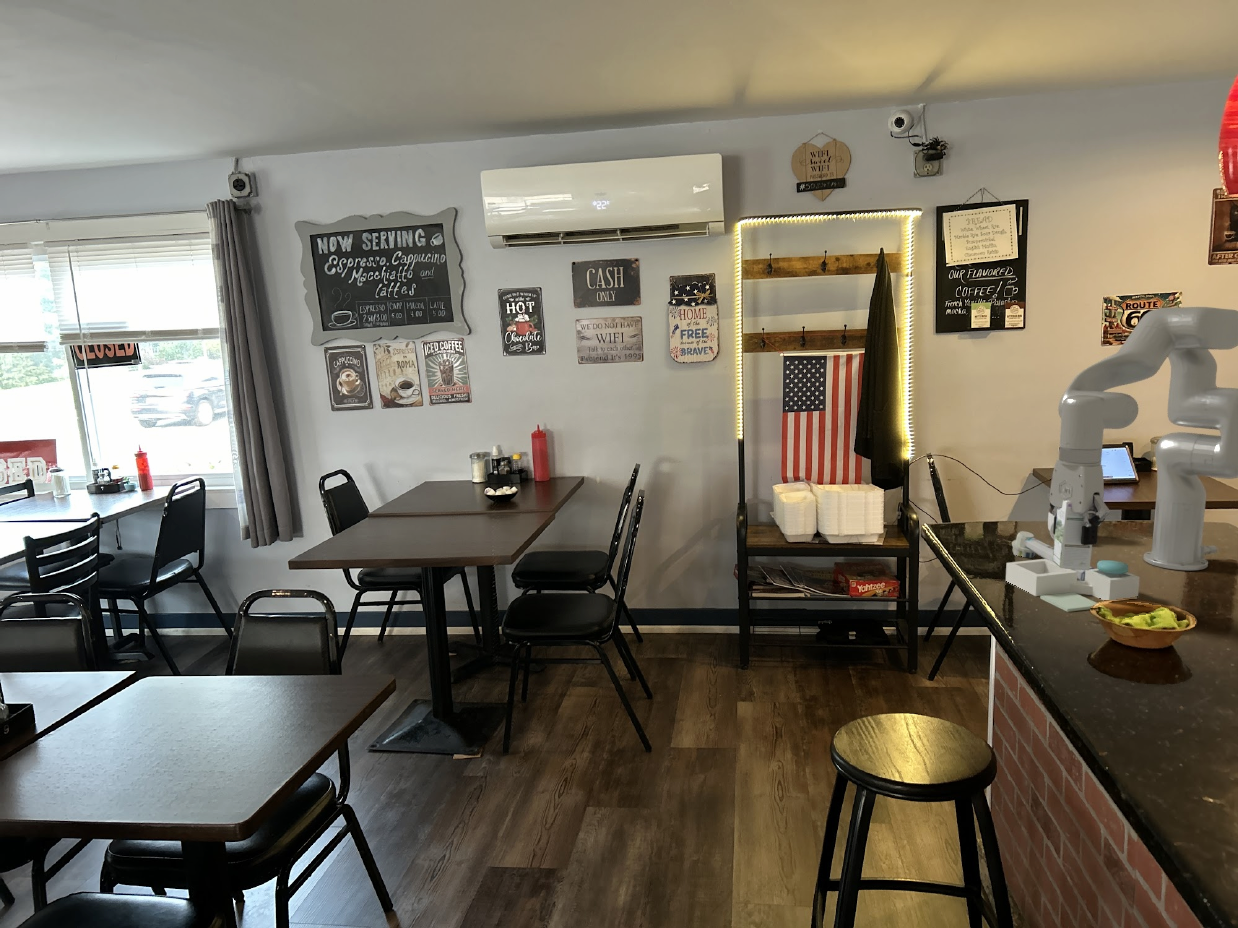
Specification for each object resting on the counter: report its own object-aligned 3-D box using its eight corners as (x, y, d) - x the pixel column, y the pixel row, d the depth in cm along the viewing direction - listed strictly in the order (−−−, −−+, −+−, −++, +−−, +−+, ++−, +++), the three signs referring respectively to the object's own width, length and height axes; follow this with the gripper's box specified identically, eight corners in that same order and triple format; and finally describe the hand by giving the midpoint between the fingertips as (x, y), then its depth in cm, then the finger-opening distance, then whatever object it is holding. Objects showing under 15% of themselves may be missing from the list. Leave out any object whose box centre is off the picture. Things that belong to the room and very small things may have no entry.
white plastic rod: (1081, 569, 174) (1009, 526, 197) (1076, 595, 176) (1006, 550, 199) (1102, 566, 175) (1028, 524, 198) (1097, 593, 177) (1024, 548, 200)
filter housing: (1076, 573, 182) (1078, 553, 181) (1137, 599, 165) (1139, 576, 164) (1005, 581, 179) (1006, 560, 178) (1060, 608, 162) (1061, 585, 161)
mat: (1073, 594, 169) (1073, 592, 169) (1101, 607, 161) (1101, 604, 161) (1040, 598, 167) (1040, 595, 167) (1067, 611, 160) (1067, 608, 160)
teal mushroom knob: (1111, 586, 170) (1113, 559, 169) (1132, 594, 165) (1134, 566, 164) (1089, 588, 170) (1091, 561, 168) (1109, 597, 164) (1111, 569, 163)
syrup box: (1090, 570, 159) (1098, 502, 157) (1059, 568, 160) (1066, 500, 158) (1081, 563, 164) (1088, 496, 162) (1050, 561, 166) (1057, 495, 164)
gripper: (1034, 450, 166) (1029, 530, 169) (1096, 464, 149) (1089, 552, 153) (1065, 448, 167) (1060, 527, 171) (1130, 461, 150) (1123, 549, 154)
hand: (1074, 538), depth 162 cm, fingers closed on syrup box, 7 cm apart
